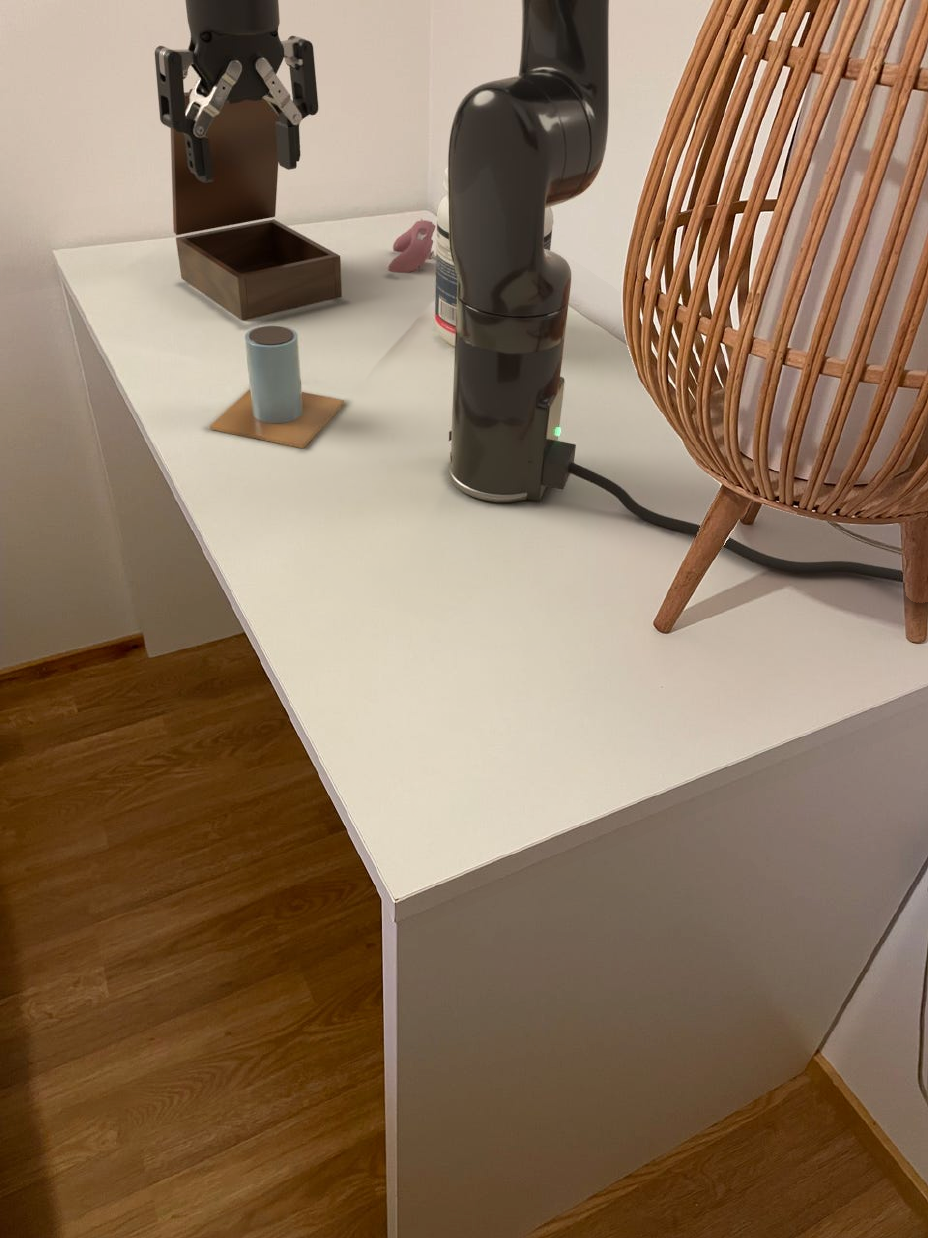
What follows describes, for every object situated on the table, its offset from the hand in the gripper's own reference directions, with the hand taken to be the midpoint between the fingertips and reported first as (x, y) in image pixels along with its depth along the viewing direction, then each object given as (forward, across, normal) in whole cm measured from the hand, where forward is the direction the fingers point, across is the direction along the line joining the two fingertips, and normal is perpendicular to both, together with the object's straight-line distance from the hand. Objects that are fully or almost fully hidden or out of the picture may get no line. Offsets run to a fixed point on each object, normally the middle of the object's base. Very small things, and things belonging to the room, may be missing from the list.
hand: (247, 173), depth 89 cm
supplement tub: (+22, +28, -3) cm, 36 cm away
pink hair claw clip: (+22, +35, +21) cm, 46 cm away
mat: (+21, -2, -6) cm, 22 cm away
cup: (+21, -2, -6) cm, 22 cm away
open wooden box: (+22, +13, +23) cm, 34 cm away
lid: (+7, +13, +28) cm, 32 cm away
